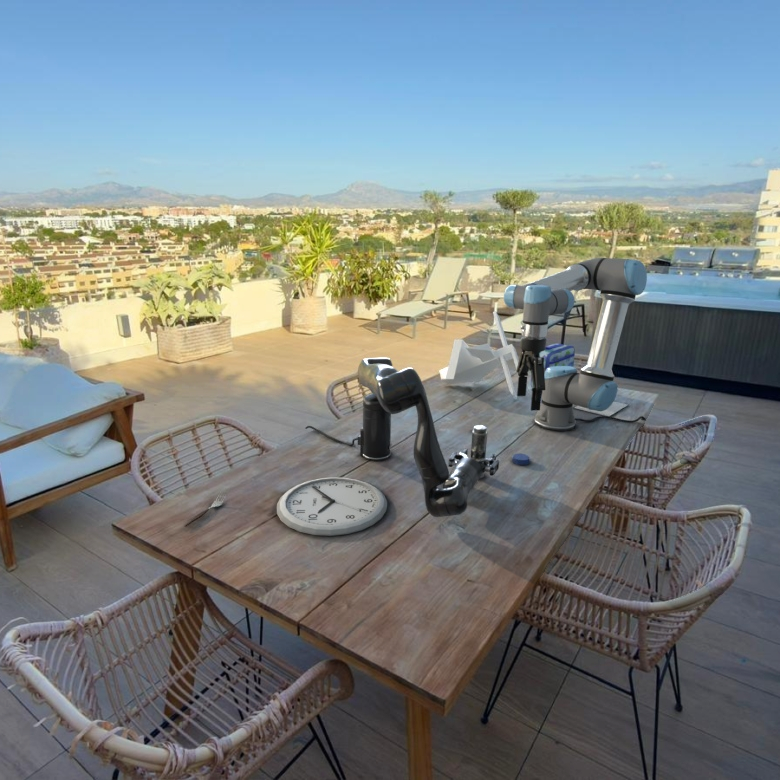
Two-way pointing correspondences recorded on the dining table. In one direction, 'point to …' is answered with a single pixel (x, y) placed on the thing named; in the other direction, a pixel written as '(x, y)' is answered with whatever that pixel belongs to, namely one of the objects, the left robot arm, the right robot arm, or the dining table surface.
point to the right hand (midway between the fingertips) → (527, 402)
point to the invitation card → (609, 411)
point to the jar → (479, 443)
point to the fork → (215, 504)
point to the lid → (521, 459)
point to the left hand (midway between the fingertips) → (479, 454)
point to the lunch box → (557, 356)
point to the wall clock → (331, 506)
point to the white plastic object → (479, 361)
